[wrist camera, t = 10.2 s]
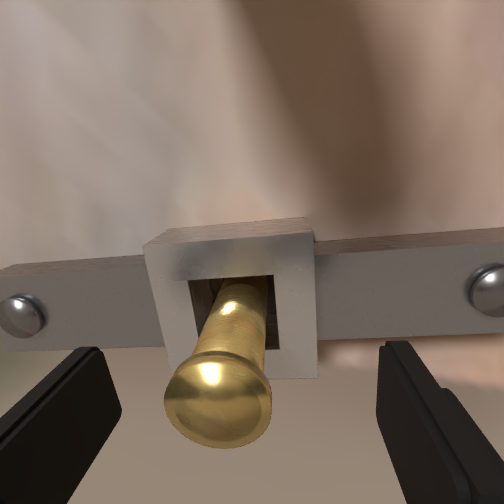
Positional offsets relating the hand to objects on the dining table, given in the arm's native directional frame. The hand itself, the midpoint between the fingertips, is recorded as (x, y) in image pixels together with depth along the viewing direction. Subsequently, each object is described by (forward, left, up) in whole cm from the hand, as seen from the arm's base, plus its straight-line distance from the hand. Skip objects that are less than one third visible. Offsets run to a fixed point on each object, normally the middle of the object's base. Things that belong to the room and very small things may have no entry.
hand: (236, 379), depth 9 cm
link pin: (+1, 0, -8) cm, 8 cm away
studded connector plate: (+1, 0, -8) cm, 8 cm away
